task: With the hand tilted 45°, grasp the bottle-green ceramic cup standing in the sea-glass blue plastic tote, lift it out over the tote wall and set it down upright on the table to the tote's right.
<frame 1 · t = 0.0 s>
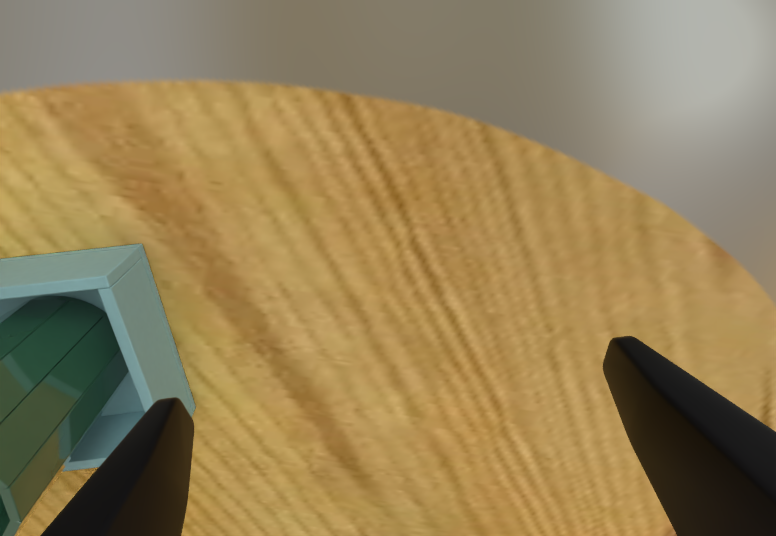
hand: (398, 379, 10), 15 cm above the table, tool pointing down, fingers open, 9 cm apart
cup: (69, 348, 26), resting on bin
bin: (74, 343, 26), on the table
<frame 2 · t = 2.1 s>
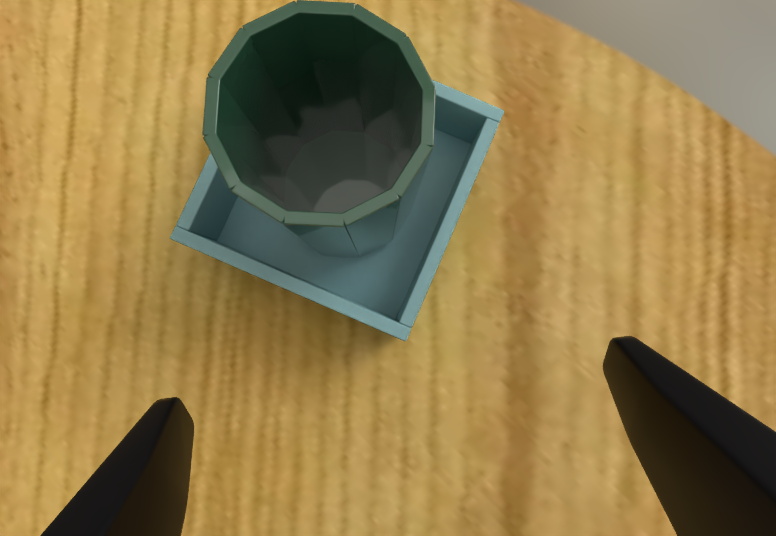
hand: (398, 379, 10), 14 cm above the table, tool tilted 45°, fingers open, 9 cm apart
cup: (345, 192, 23), resting on bin
bin: (346, 194, 24), on the table
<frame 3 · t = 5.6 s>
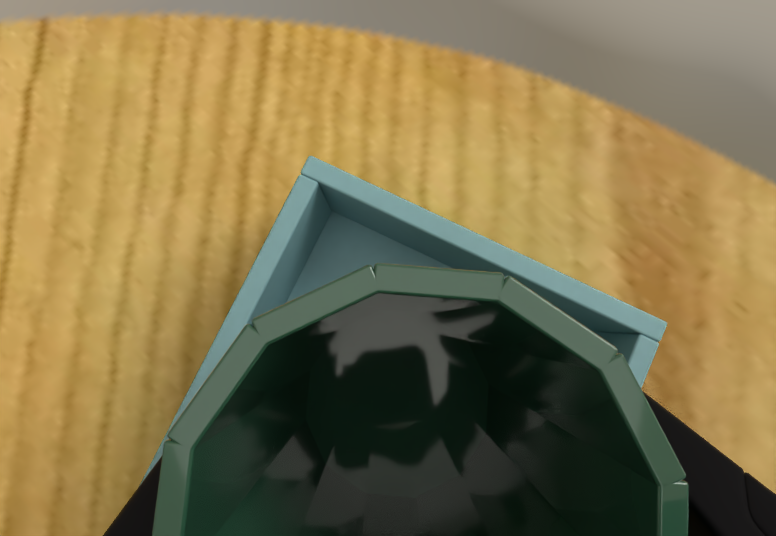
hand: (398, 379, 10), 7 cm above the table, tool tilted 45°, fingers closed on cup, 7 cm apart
cup: (397, 398, 16), point 1 cm above the table, touching bin, gripper
bin: (397, 396, 16), on the table
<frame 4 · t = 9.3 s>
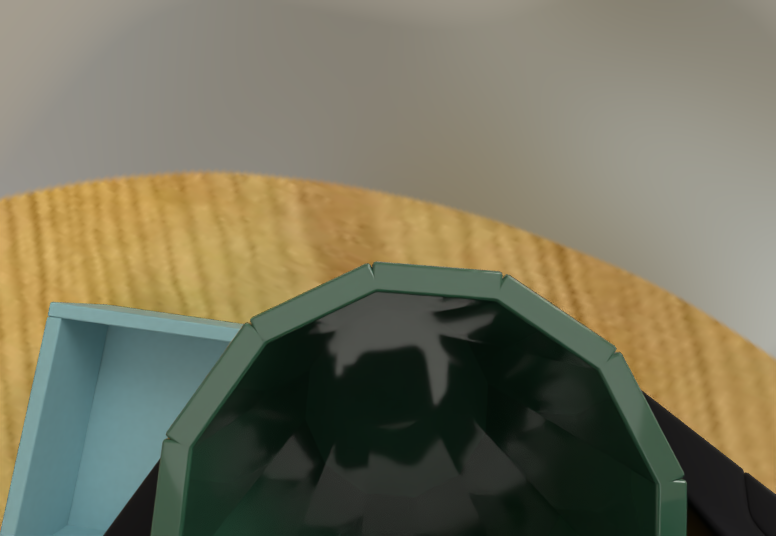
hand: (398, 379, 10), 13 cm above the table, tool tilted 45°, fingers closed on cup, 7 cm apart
cup: (396, 398, 16), point 7 cm above the table, touching gripper
bin: (194, 431, 23), on the table
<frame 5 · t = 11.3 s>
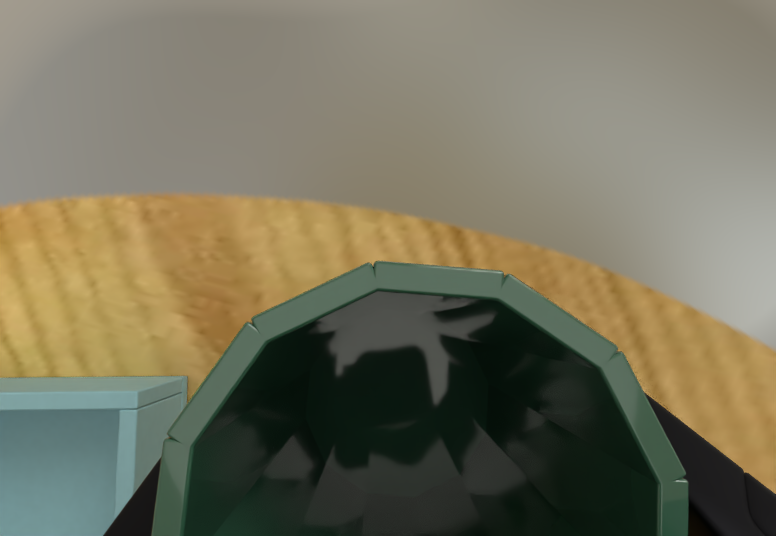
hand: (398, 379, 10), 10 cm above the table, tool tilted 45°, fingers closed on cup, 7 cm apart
cup: (397, 397, 16), point 4 cm above the table, touching gripper
bin: (47, 514, 19), on the table
when the fingers open (6 cm above the table, at t = 13.0 s): cup stays where it is, on the table.
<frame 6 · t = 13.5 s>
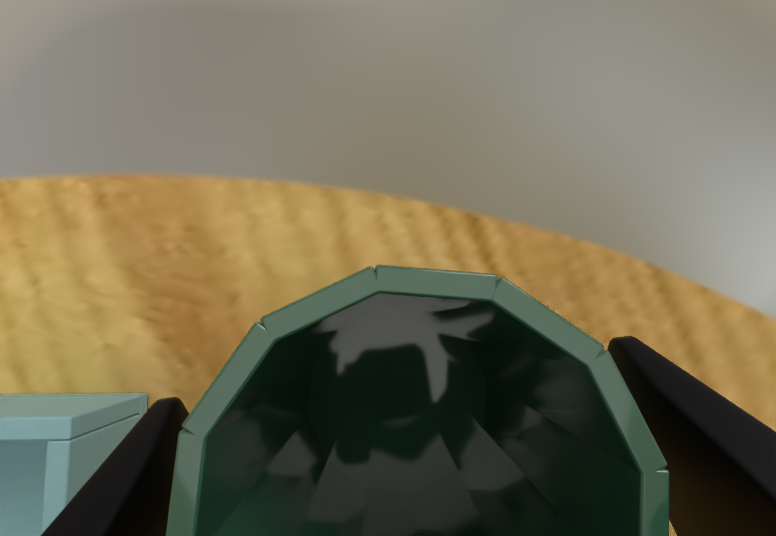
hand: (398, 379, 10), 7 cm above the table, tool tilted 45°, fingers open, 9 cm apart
cup: (397, 395, 16), on the table
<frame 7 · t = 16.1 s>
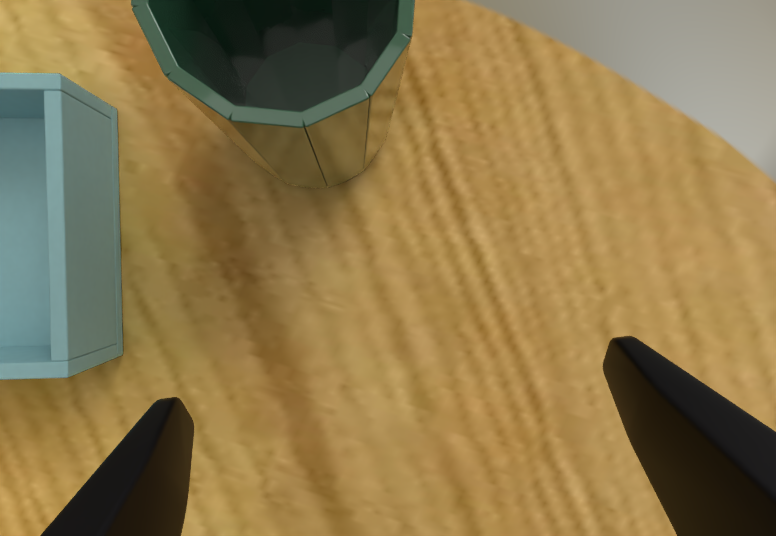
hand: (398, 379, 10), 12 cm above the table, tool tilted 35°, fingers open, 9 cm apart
cup: (314, 114, 21), on the table
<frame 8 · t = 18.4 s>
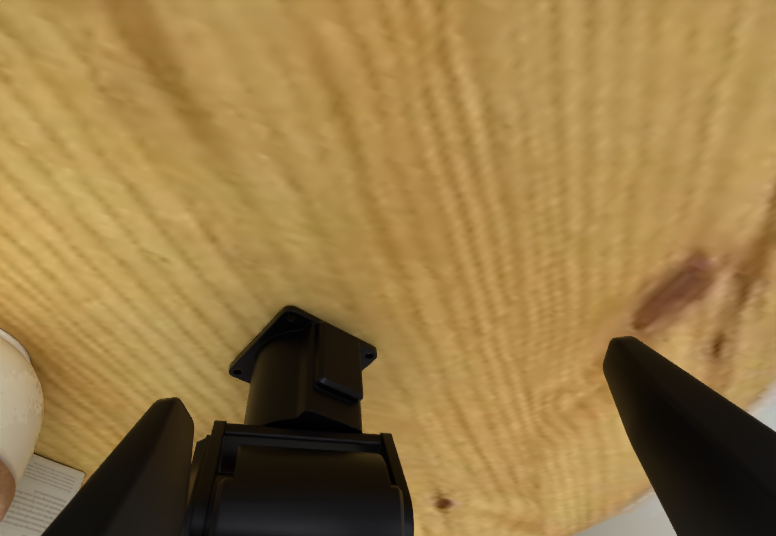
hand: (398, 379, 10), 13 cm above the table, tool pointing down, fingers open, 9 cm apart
small box: (19, 476, 33), on the table
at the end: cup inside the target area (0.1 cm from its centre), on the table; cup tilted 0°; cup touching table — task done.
